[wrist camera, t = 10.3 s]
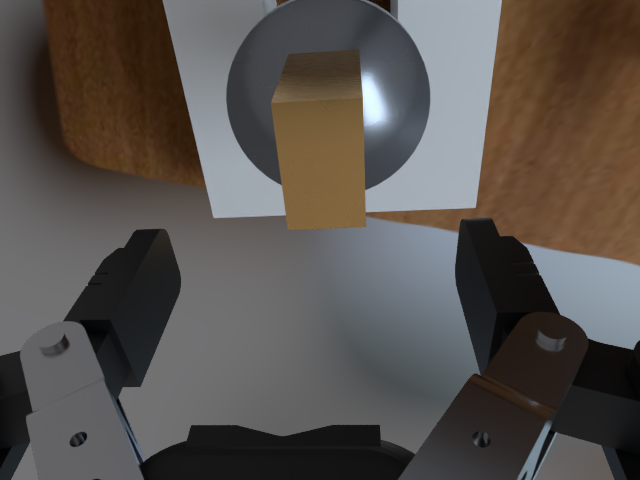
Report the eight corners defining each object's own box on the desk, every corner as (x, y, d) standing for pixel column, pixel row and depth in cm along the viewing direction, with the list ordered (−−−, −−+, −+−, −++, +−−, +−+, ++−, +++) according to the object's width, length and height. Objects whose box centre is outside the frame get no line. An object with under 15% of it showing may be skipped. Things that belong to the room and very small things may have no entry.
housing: (156, -174, 29) (118, -187, 24) (498, -209, 28) (531, -231, 23) (228, 181, 43) (213, 218, 38) (460, 170, 42) (475, 207, 37)
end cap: (235, -18, 25) (161, 41, 15) (417, -32, 24) (467, 20, 14) (261, 148, 30) (219, 274, 20) (411, 141, 30) (444, 267, 20)
